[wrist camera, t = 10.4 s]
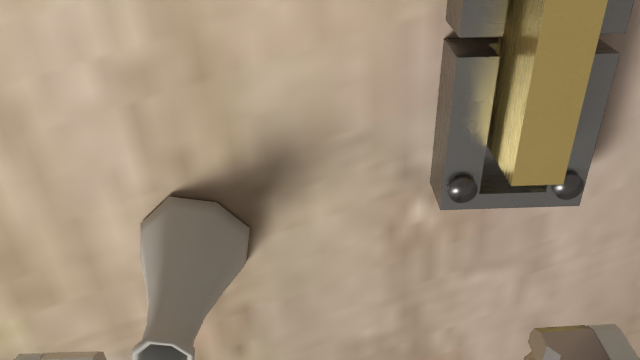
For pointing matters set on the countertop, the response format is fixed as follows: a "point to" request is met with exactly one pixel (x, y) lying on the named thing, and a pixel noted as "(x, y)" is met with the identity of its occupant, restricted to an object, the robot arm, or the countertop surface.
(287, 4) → the countertop surface
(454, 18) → the grey forked link
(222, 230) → the flask
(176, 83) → the countertop surface
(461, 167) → the link
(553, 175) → the tall mustard post
